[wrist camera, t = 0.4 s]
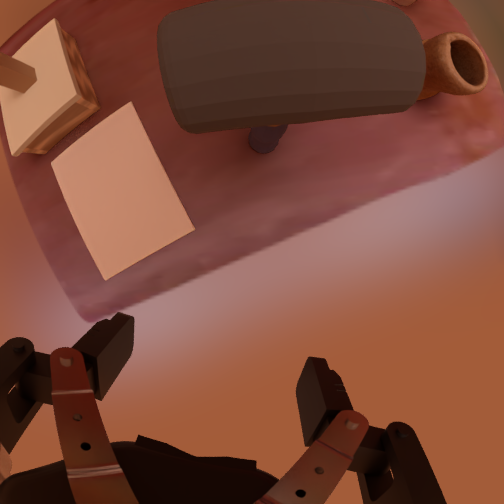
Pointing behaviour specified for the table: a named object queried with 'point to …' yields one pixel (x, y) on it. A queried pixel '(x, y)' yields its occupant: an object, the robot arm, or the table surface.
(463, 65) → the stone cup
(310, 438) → the robot arm
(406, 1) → the coffee cup
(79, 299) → the table surface
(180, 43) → the rubber mallet
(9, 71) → the lid
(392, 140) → the table surface
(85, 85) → the wooden box
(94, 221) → the mat
